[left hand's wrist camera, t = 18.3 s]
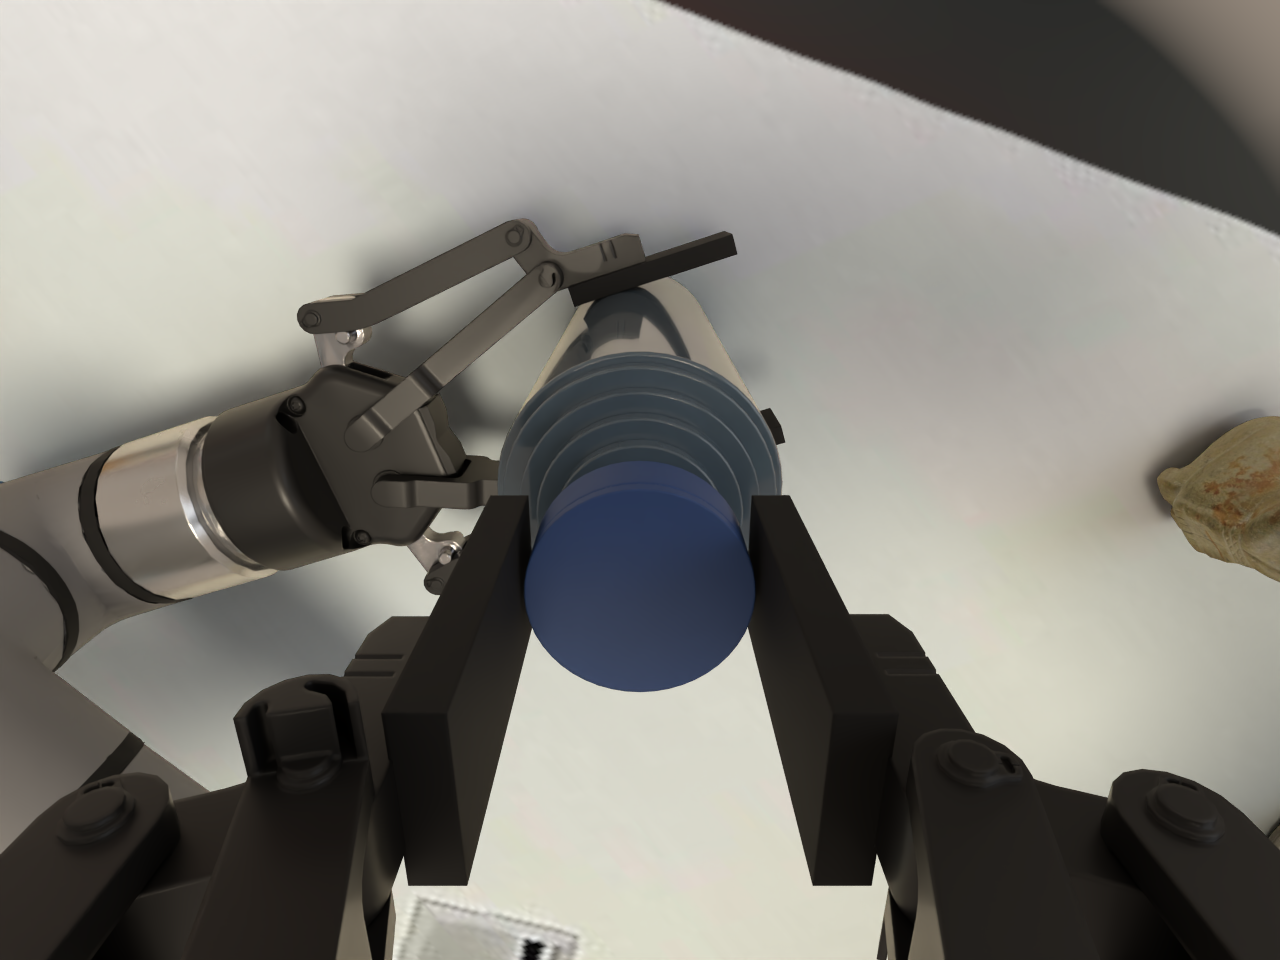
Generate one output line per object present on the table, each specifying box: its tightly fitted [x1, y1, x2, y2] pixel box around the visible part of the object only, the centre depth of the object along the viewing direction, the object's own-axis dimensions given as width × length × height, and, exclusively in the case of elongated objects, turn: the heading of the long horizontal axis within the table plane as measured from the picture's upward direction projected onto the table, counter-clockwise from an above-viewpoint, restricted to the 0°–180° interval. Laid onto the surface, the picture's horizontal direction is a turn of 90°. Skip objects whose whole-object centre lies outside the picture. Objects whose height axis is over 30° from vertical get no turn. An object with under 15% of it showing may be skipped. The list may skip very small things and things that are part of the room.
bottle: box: [497, 277, 782, 550], centre depth 25 cm, size 7×7×24 cm
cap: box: [524, 461, 756, 692], centre depth 14 cm, size 4×4×2 cm
